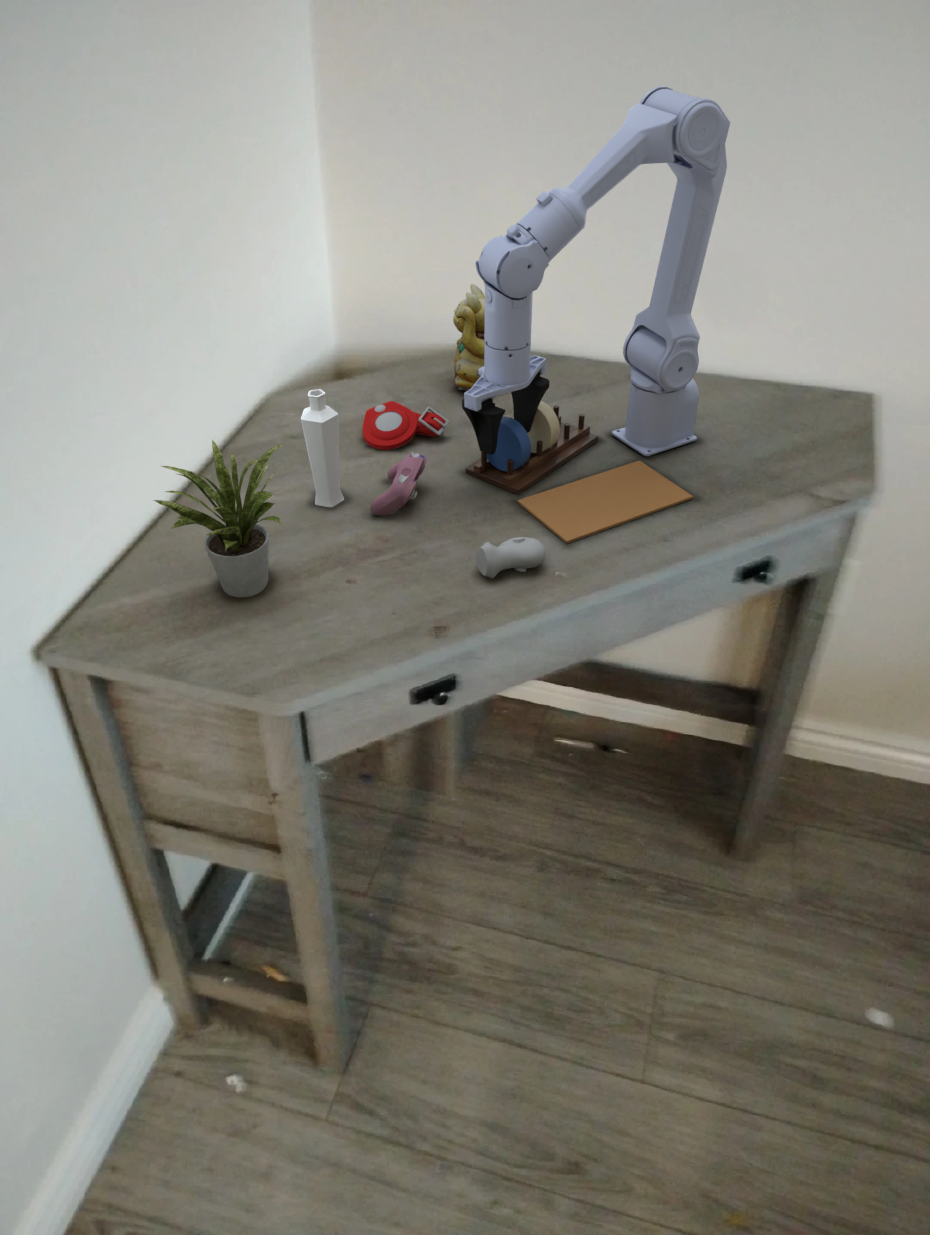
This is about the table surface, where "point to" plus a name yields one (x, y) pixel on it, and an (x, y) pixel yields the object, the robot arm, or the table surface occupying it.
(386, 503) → the video game controller
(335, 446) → the white faceted vase
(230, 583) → the house plant
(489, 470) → the rack
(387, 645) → the table surface
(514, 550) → the smooth white sculpture
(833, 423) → the table surface
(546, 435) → the cream disc
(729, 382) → the table surface
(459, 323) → the decorative figurine
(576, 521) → the mat
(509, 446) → the blue disc
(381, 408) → the tracker holder
